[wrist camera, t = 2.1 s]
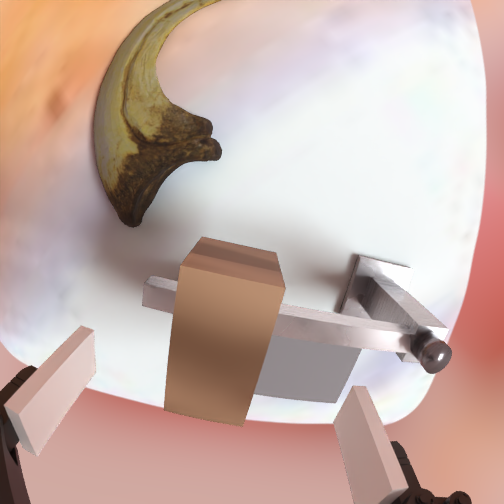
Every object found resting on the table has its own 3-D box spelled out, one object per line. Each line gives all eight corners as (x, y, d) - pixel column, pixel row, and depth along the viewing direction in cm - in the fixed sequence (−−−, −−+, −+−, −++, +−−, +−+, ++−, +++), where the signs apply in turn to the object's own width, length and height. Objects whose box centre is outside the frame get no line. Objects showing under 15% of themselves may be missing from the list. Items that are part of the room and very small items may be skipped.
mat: (253, 389, 25) (253, 393, 25) (275, 314, 23) (276, 318, 23) (334, 399, 26) (335, 403, 25) (366, 330, 24) (368, 333, 23)
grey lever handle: (177, 280, 23) (129, 354, 13) (187, 216, 21) (136, 254, 12) (390, 321, 24) (447, 394, 14) (410, 267, 22) (485, 323, 12)
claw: (216, 226, 22) (208, 235, 19) (92, 214, 22) (70, 221, 18) (247, -8, 17) (246, -31, 14) (130, -2, 17) (116, -20, 14)
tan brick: (246, 326, 24) (242, 426, 13) (197, 315, 23) (163, 410, 13) (270, 231, 22) (285, 287, 11) (215, 219, 21) (180, 264, 11)
